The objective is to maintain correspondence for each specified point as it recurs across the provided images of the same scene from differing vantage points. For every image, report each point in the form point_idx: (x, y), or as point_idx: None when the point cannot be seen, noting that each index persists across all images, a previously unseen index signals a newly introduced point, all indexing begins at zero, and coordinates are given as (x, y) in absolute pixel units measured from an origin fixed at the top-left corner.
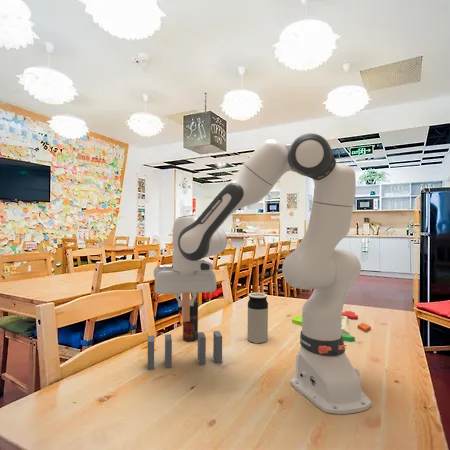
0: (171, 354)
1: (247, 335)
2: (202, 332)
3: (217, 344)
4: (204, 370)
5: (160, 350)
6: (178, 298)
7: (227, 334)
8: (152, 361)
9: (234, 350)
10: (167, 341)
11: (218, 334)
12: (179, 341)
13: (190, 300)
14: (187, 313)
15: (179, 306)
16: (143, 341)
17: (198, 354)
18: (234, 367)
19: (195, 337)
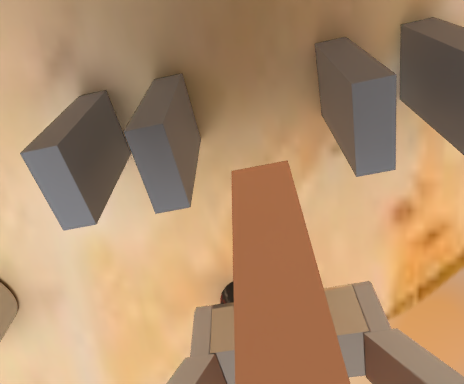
0: (330, 59)
1: (10, 311)
2: (160, 205)
3: (68, 127)
4: (150, 17)
5: (371, 208)
6: (414, 372)
7: (108, 333)
8: (427, 30)
9: (49, 211)
10: (379, 75)
11: (52, 178)
12: None
13: (234, 378)
14: (255, 208)
15: (361, 283)
16: (441, 279)
17: (190, 124)
18: (8, 50)
19: (228, 295)
